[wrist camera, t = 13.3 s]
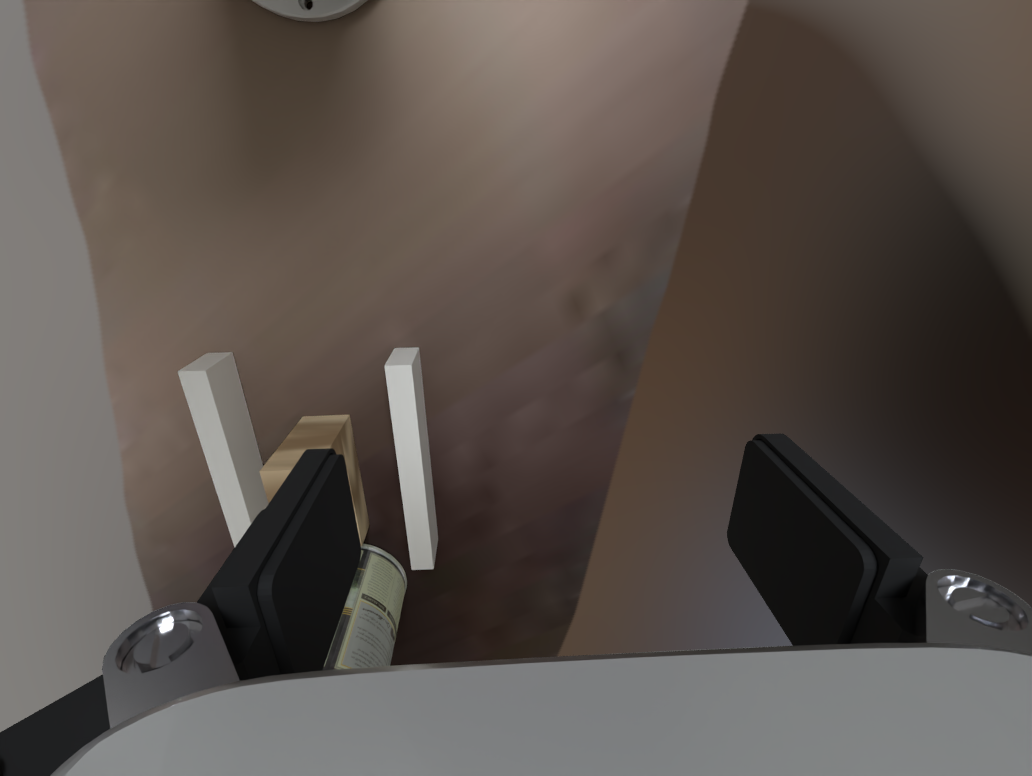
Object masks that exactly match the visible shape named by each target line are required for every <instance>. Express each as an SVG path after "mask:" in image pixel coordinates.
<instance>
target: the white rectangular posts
mask: <svg viewBox="0 0 1032 776" xmlns="http://www.w3.org/2000/svg"><path fill="white" fill-rule="evenodd" d="M384 367H385V374H386V382H387V389H388V397H389V404H390V412H391V419H392V427H393V434H394V442H395V449H396V457H397V464H398V472H399V479H400V487H401V494H402V502H403V509H404V517H405V524H406V532H407V539H408V547H409V554H410V562H411V569H412V570H425V569H434V564H435V557H436V550H437V544H438V531H437V521H436V511H435V501H434V491H433V481H432V471H431V461H430V451H429V441H428V431H427V421H426V411H425V401H424V391H423V381H422V371H421V361H420V351H419V347H416V348H394V350H393V352H392V353H391V355H390V357H389V359H388V360H387V362H386V364H385V366H384ZM177 372H178V375H179V378H180V381H181V384H182V387H183V390H184V393H185V396H186V399H187V402H188V406H189V409H190V412H191V415H192V418H193V421H194V424H195V427H196V430H197V433H198V436H199V439H200V443H201V446H202V449H203V452H204V455H205V458H206V461H207V464H208V467H209V470H210V473H211V476H212V480H213V483H214V486H215V489H216V492H217V495H218V498H219V501H220V504H221V507H222V510H223V513H224V516H225V520H226V523H227V526H228V529H229V532H230V535H231V538H232V541H233V544H234V547H236V545H237V544H238V542H239V541H240V539H241V538H242V537H243V535H244V534H245V532H246V531H247V529H248V528H249V526H250V525H251V524H252V522H253V521H254V519H255V518H256V516H257V515H258V514H259V513H260V512H261V511H262V510H264V509H266V507H267V506H268V504H269V503H268V500H267V496H266V493H265V489H264V486H263V482H262V479H261V475H260V472H259V471H260V470H261V469H262V467H263V463H262V460H261V456H260V452H259V449H258V445H257V441H256V437H255V434H254V430H253V426H252V423H251V419H250V415H249V411H248V408H247V404H246V400H245V397H244V393H243V389H242V385H241V382H240V378H239V374H238V371H237V367H236V363H235V359H234V356H233V352H221V353H206V354H205V355H203V356H201V357H200V358H198V359H197V360H195V361H193V362H192V363H190V364H189V365H187V366H185V367H184V368H182V369H181V370H179V371H177Z"/></svg>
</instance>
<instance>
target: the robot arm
mask: <svg viewBox="0 0 1032 776" xmlns="http://www.w3.org/2000/svg"><path fill="white" fill-rule="evenodd" d="M252 1H253V2H255V3H256V4H258V5H259V6H261V7H263V8H265V9H267V10H269V11H271V12H273V13H275V14H277V15H279V16H283V17H286V18H290V19H293V20H297V21H309V22H321V21H327V20H332V19H337V18H339V17H342V16H344V15H346V14H348V13H351V12H353V11H355V10H356V9H357V8H359V7H360V6H361V5H362V4H364V3H365V2H366V1H368V0H252ZM310 1H311V2H313V7H312V8H311V10H308V8H307V4H308V2H310ZM727 538H728V542H729V545H730V547H731V549H732V551H733V552H734V554H735V555H736V557H737V558H738V560H739V562H740V563H741V565H742V566H743V568H744V569H745V571H746V573H747V574H748V576H749V577H750V579H751V580H752V582H753V584H754V585H755V587H756V588H757V590H758V591H759V593H760V595H761V596H762V598H763V599H764V601H765V602H766V604H767V606H768V607H769V609H770V610H771V612H772V613H773V615H774V616H775V618H776V620H777V621H778V623H779V624H780V626H781V627H782V629H783V631H784V632H785V634H786V635H787V637H788V638H789V640H790V641H791V643H792V645H793V646H777V647H755V648H730V649H709V650H708V649H707V650H684V651H665V652H664V651H663V652H642V653H624V654H623V653H622V654H602V655H582V656H561V657H540V658H521V659H503V660H485V661H466V662H448V663H430V664H412V665H395V666H380V667H365V668H351V669H336V670H324V671H322V670H323V667H324V664H325V662H326V659H327V656H328V653H329V650H330V647H331V644H332V641H333V638H334V635H335V633H336V630H337V627H338V624H339V621H340V618H341V615H342V612H343V609H344V606H345V603H346V601H347V598H348V595H349V592H350V589H351V586H352V583H353V580H354V577H355V574H356V572H357V569H358V566H359V563H360V558H361V544H360V539H359V533H358V528H357V523H356V517H355V512H354V507H353V501H352V496H351V490H350V485H349V480H348V474H347V469H346V463H345V459H344V456H343V455H342V454H336V452H335V450H334V449H333V448H327V449H307V450H305V451H304V453H303V454H302V456H301V457H300V459H299V460H298V462H297V463H296V465H295V466H294V467H293V469H292V470H291V472H290V473H289V475H288V476H287V478H286V479H285V481H284V482H283V484H282V485H281V487H280V488H279V489H278V491H277V492H276V494H275V495H274V497H273V498H272V500H271V501H270V503H269V504H268V506H267V507H266V509H264V510H262V511H261V512H260V513H259V514H258V515H257V516H256V518H255V519H254V521H253V522H252V524H251V525H250V526H249V528H248V529H247V531H246V532H245V534H244V535H243V537H242V538H241V539H240V541H239V542H238V544H237V545H236V547H235V548H234V550H233V551H232V552H231V554H230V555H229V557H228V558H227V560H226V561H225V563H224V564H223V565H222V567H221V568H220V570H219V571H218V573H217V574H216V575H215V577H214V578H213V580H212V581H211V583H210V584H209V586H208V587H207V588H206V590H205V591H204V593H203V594H202V596H201V597H200V599H199V600H198V601H197V603H193V602H183V603H178V604H173V605H169V606H166V607H164V608H161V609H158V610H156V611H153V612H151V613H150V614H148V615H146V616H144V617H143V618H141V619H139V620H137V621H136V622H135V623H133V624H132V625H131V626H130V627H128V628H127V629H126V630H124V631H123V632H122V633H121V634H120V635H119V637H118V638H117V639H116V640H115V641H114V642H113V643H112V644H111V646H110V647H109V649H108V651H107V653H106V655H105V656H104V660H103V667H102V671H103V675H101V676H99V677H97V678H96V679H94V680H92V681H91V682H89V683H87V684H85V685H83V686H82V687H80V688H78V689H76V690H75V691H73V692H71V693H69V694H68V695H66V696H64V697H62V698H60V699H59V700H57V701H55V702H53V703H52V704H50V705H48V706H46V707H45V708H43V709H41V710H39V711H37V712H36V713H34V714H32V715H30V716H29V717H27V718H25V719H24V720H21V721H20V722H18V723H16V724H14V725H13V726H11V727H9V728H7V729H6V730H4V731H2V732H0V776H1032V608H1031V607H1030V606H1029V605H1028V604H1027V603H1026V602H1025V601H1023V600H1022V599H1020V598H1019V597H1018V596H1016V595H1015V594H1014V593H1012V592H1011V591H1009V590H1007V589H1005V588H1004V587H1002V586H1000V585H998V584H997V583H995V582H993V581H990V580H988V579H985V578H982V577H980V576H978V575H975V574H971V573H968V572H964V571H959V570H951V569H943V570H935V571H934V572H932V573H930V574H928V575H927V574H926V573H925V572H924V571H923V570H922V569H921V568H920V567H919V566H920V564H921V562H922V559H923V557H922V556H921V555H920V554H919V553H918V552H917V551H916V550H915V549H913V548H912V547H911V546H910V545H909V544H908V543H906V541H904V540H903V539H902V538H901V537H900V536H899V535H898V534H897V533H895V532H894V531H893V530H892V529H891V528H890V527H889V526H888V525H886V524H885V523H884V522H883V521H882V520H881V519H880V518H879V517H877V516H876V515H875V514H874V513H873V512H872V511H871V510H870V509H868V508H867V507H866V506H865V505H864V504H862V502H861V501H859V500H858V499H857V498H856V497H855V496H854V495H853V494H852V493H850V492H849V491H848V490H847V489H846V488H845V487H844V486H843V485H841V484H840V483H839V482H838V481H837V480H836V479H835V478H834V477H832V476H831V475H830V474H829V473H828V472H827V471H826V470H825V469H823V468H822V467H821V466H820V465H819V464H818V463H817V462H815V461H814V460H813V459H812V458H811V457H810V456H809V455H808V454H806V453H805V452H804V451H803V450H802V449H801V448H800V447H799V446H797V445H796V444H795V443H794V442H793V441H792V440H791V439H790V438H788V437H787V436H786V435H784V434H758V435H756V436H755V437H754V438H753V440H752V441H748V442H747V444H746V446H745V451H744V455H743V460H742V465H741V469H740V474H739V479H738V484H737V488H736V493H735V497H734V502H733V507H732V512H731V516H730V521H729V526H728V531H727Z"/></svg>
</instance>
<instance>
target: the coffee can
mask: <svg viewBox="0 0 1032 776" xmlns="http://www.w3.org/2000/svg"><path fill="white" fill-rule="evenodd" d="M406 588H407V578H406V574H405V571H404V569H403V567H402V566H401V564H400V563H399V562H398V561H397V560H396V559H395V558H394V557H393V556H392V555H391V554H389V553H387V552H385V551H384V550H382V549H380V548H378V547H375V546H372V545H368V544H364V543H363V545H362V546H361V558H360V563H359V566H358V569H357V572H356V574H355V577H354V580H353V583H352V586H351V589H350V592H349V595H348V598H347V601H346V603H345V606H344V609H343V612H342V615H341V618H340V621H339V624H338V627H337V630H336V633H335V635H334V638H333V641H332V644H331V647H330V650H329V653H328V656H327V659H326V662H325V664H324V667H323V670H322V671H324V670H336V669H351V668H365V667H380V666H390V664H391V659H392V654H393V648H394V644H395V639H396V634H397V629H398V624H399V619H400V614H401V609H402V604H403V599H404V595H405V592H406Z"/></svg>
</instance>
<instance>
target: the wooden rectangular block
mask: <svg viewBox="0 0 1032 776" xmlns="http://www.w3.org/2000/svg"><path fill="white" fill-rule="evenodd" d="M327 448H333V449H334V450H335V452H336V454H342V455H343V456H344V459H345V463H346V469H347V474H348V480H349V485H350V490H351V496H352V501H353V507H354V512H355V517H356V523H357V528H358V533H359V539H360V544H361V546H362V545H363V542H364V539H365V537H366V534H367V531H368V528H369V525H370V524H369V518H368V513H367V508H366V502H365V497H364V491H363V486H362V480H361V475H360V469H359V464H358V458H357V453H356V447H355V442H354V436H353V431H352V425H351V420H350V415H328V416H303V417H302V418H301V419H300V421H299V422H298V423H297V424H296V426H295V427H294V428H293V430H292V431H291V432H290V433H289V435H288V436H287V437H286V438H285V440H284V441H283V442H282V443H281V445H280V446H279V447H278V448H277V450H276V451H275V452H274V454H273V455H272V456H271V457H270V459H269V460H268V461H267V462H266V464H265V465H264V466H263V467H262V469H261V470H260V471H259V472H260V475H261V479H262V482H263V486H264V489H265V493H266V496H267V500H268V503H270V501H271V500H272V498H273V497H274V495H275V494H276V492H277V491H278V489H279V488H280V487H281V485H282V484H283V482H284V481H285V479H286V478H287V476H288V475H289V473H290V472H291V470H292V469H293V467H294V466H295V465H296V463H297V462H298V460H299V459H300V457H301V456H302V454H303V453H304V451H305V450H307V449H327Z"/></svg>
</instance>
